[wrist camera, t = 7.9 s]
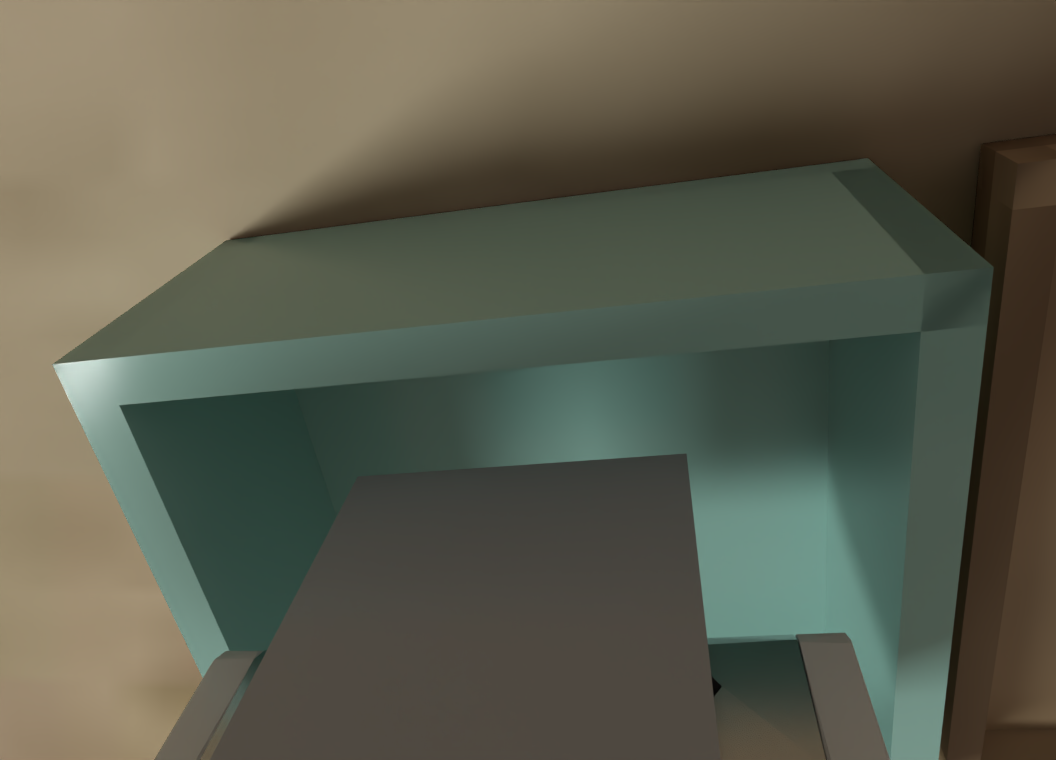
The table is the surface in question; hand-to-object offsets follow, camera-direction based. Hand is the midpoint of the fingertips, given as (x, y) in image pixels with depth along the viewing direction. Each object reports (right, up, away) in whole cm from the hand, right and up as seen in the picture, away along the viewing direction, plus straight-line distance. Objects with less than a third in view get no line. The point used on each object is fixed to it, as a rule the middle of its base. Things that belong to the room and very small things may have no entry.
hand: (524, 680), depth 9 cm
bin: (+1, +1, +6) cm, 6 cm away
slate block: (0, +1, +1) cm, 2 cm away
